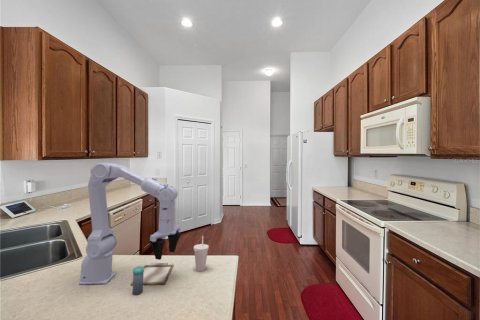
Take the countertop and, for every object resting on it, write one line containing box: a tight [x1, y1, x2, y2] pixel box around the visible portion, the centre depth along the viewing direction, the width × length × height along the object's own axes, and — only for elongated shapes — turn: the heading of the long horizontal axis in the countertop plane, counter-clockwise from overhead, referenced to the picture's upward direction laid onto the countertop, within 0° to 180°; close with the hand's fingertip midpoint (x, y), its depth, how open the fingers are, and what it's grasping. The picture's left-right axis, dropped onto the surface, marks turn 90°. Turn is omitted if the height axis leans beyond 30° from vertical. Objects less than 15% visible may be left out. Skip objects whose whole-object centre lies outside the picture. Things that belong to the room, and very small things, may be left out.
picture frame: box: [130, 262, 174, 287], centre depth 88 cm, size 12×16×1 cm
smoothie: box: [193, 235, 210, 273], centre depth 93 cm, size 6×6×14 cm
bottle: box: [131, 265, 144, 296], centre depth 75 cm, size 3×3×8 cm
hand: (165, 255), depth 83 cm, fingers open, 7 cm apart
